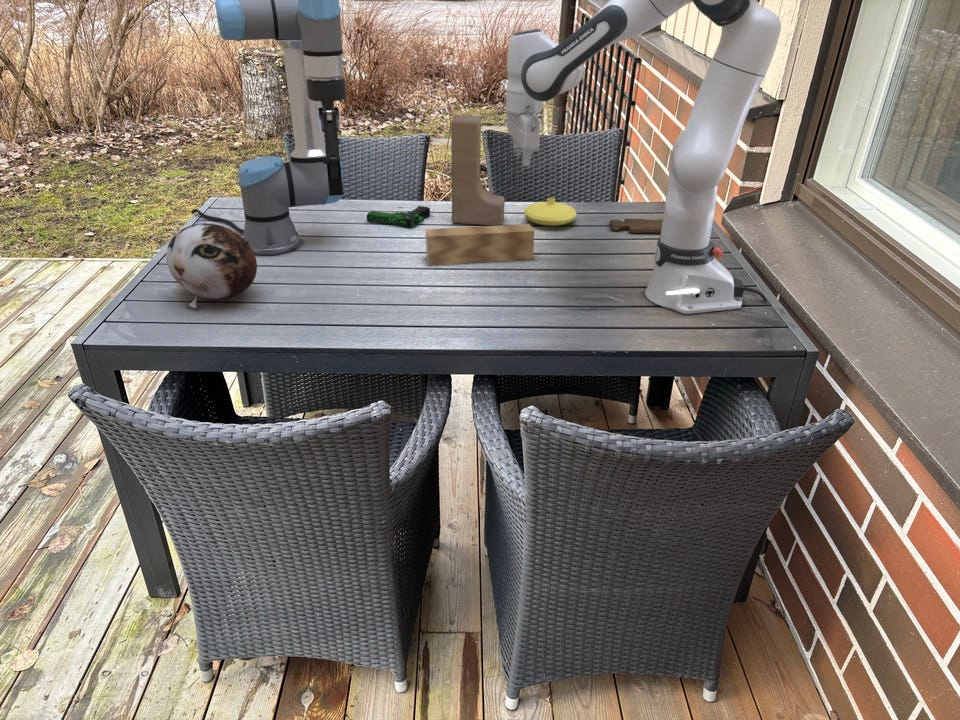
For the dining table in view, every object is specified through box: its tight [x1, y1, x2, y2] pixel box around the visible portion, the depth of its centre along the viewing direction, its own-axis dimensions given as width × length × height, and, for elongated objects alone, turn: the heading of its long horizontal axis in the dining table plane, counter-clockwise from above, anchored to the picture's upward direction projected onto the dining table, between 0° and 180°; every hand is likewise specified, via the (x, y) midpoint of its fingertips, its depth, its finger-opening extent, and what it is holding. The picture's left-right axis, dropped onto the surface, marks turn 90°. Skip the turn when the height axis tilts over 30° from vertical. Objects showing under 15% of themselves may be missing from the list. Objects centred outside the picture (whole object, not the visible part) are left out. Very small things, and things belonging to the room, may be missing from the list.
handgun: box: [366, 205, 431, 229], centre depth 216 cm, size 16×3×15 cm
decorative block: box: [450, 114, 506, 226], centre depth 208 cm, size 8×15×30 cm, turn 82°
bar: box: [425, 223, 535, 266], centre depth 189 cm, size 28×5×8 cm, turn 100°
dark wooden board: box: [608, 218, 663, 234], centre depth 212 cm, size 26×2×10 cm
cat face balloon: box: [165, 222, 258, 309], centre depth 165 cm, size 22×18×20 cm
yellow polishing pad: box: [523, 197, 578, 227], centre depth 214 cm, size 16×16×7 cm
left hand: (335, 185), depth 150 cm, fingers open, 13 cm apart
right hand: (521, 160), depth 180 cm, fingers open, 8 cm apart
